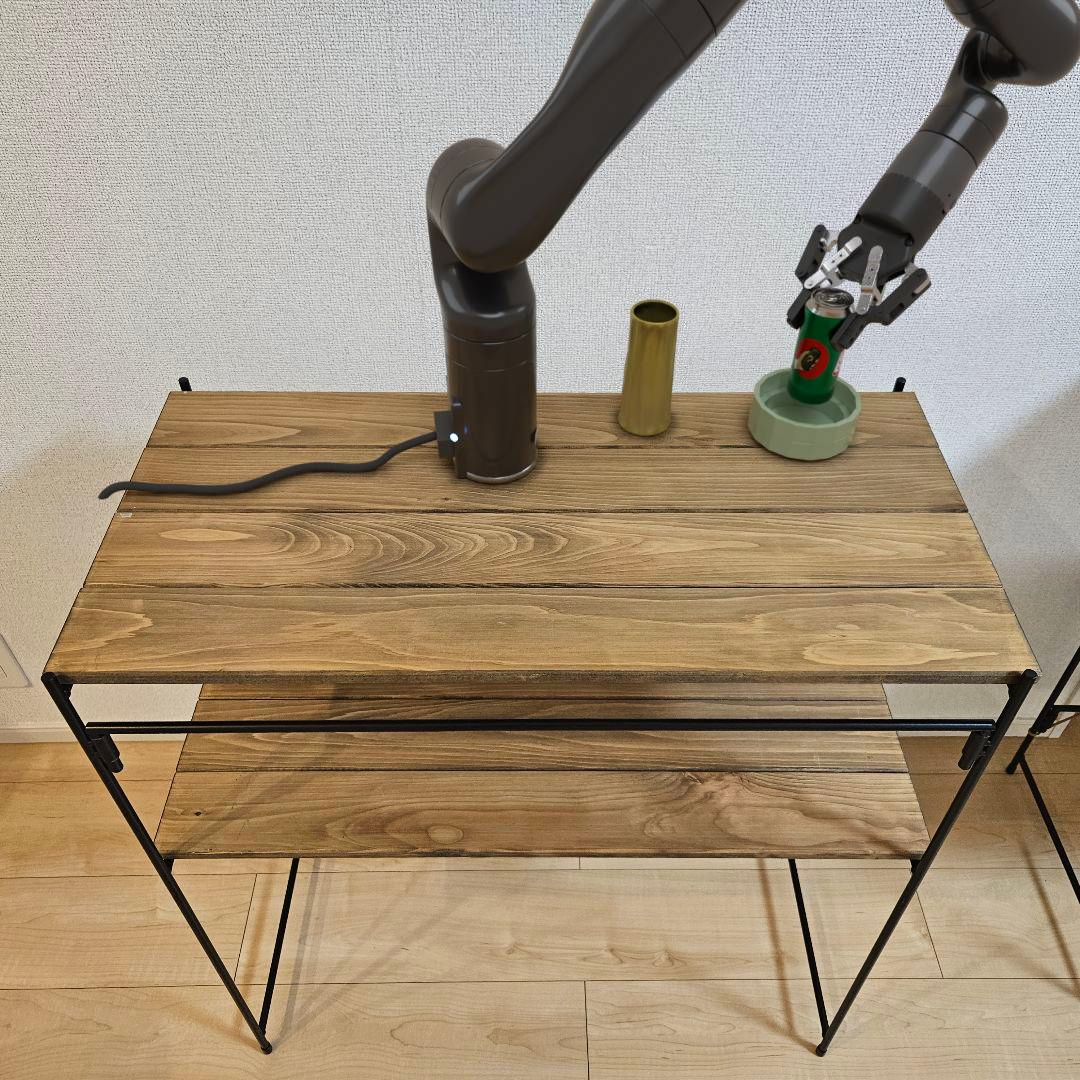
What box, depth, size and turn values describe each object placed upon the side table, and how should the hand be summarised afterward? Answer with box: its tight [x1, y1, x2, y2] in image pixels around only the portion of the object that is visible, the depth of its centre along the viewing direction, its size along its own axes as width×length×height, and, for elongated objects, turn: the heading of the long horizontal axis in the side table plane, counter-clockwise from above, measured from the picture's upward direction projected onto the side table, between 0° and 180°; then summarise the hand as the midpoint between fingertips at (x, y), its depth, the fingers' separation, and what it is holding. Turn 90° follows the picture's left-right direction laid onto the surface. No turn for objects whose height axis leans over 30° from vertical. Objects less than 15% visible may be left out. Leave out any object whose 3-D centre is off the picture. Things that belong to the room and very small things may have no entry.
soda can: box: [786, 287, 856, 406], centre depth 95 cm, size 5×5×12 cm
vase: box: [617, 298, 680, 437], centre depth 99 cm, size 6×6×14 cm
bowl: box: [747, 367, 862, 461], centre depth 100 cm, size 12×12×5 cm
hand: (813, 336), depth 92 cm, fingers closed on soda can, 5 cm apart
